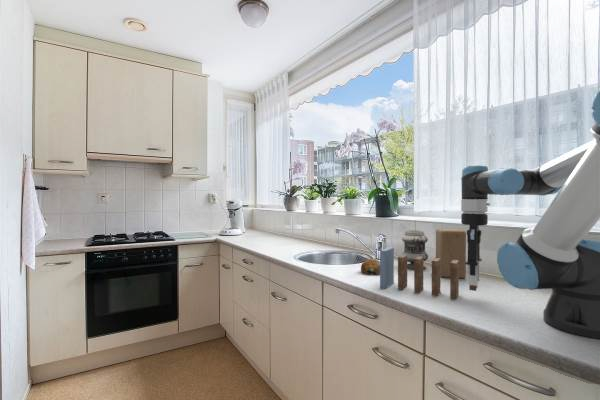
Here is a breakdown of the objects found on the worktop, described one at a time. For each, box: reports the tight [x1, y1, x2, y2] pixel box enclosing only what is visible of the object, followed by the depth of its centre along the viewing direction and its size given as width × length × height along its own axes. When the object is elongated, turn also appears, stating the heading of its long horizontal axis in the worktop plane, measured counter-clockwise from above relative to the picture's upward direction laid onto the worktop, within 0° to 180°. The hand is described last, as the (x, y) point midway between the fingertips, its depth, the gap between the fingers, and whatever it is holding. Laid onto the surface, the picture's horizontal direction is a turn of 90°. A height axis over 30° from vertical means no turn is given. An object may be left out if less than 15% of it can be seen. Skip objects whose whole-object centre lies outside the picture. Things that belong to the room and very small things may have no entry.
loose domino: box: [468, 253, 478, 292], centre depth 100 cm, size 2×6×12 cm, turn 146°
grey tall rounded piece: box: [401, 229, 429, 271], centre depth 147 cm, size 12×12×18 cm
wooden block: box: [435, 228, 467, 279], centre depth 132 cm, size 10×10×20 cm
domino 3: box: [431, 257, 441, 297], centre depth 106 cm, size 2×6×12 cm, turn 145°
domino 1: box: [397, 254, 408, 291], centre depth 113 cm, size 2×6×12 cm, turn 145°
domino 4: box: [449, 260, 460, 300], centre depth 103 cm, size 2×6×12 cm, turn 145°
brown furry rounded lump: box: [360, 258, 380, 276], centre depth 137 cm, size 10×10×8 cm
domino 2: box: [413, 256, 424, 294], centre depth 110 cm, size 2×6×12 cm, turn 146°
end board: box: [379, 246, 395, 290], centre depth 116 cm, size 2×10×14 cm, turn 146°
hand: (473, 282), depth 100 cm, fingers closed on loose domino, 6 cm apart
